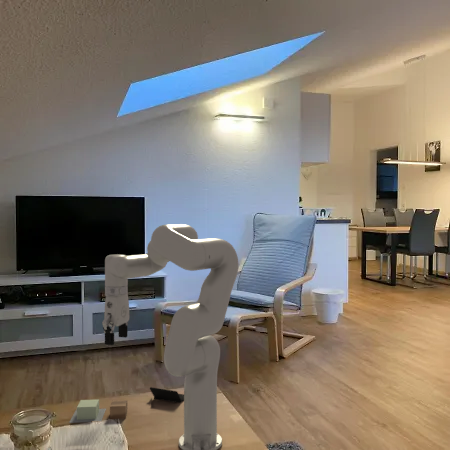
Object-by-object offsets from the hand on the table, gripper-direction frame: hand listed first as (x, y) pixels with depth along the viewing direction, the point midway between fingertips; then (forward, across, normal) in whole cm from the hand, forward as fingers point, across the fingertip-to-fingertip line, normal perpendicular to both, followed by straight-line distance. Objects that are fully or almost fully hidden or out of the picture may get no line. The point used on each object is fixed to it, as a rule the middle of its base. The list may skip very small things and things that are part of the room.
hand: (116, 340), depth 159 cm
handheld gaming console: (+24, +13, -14) cm, 31 cm away
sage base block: (+23, -8, +6) cm, 25 cm away
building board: (+24, -8, +6) cm, 26 cm away
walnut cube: (+24, -6, -4) cm, 25 cm away
